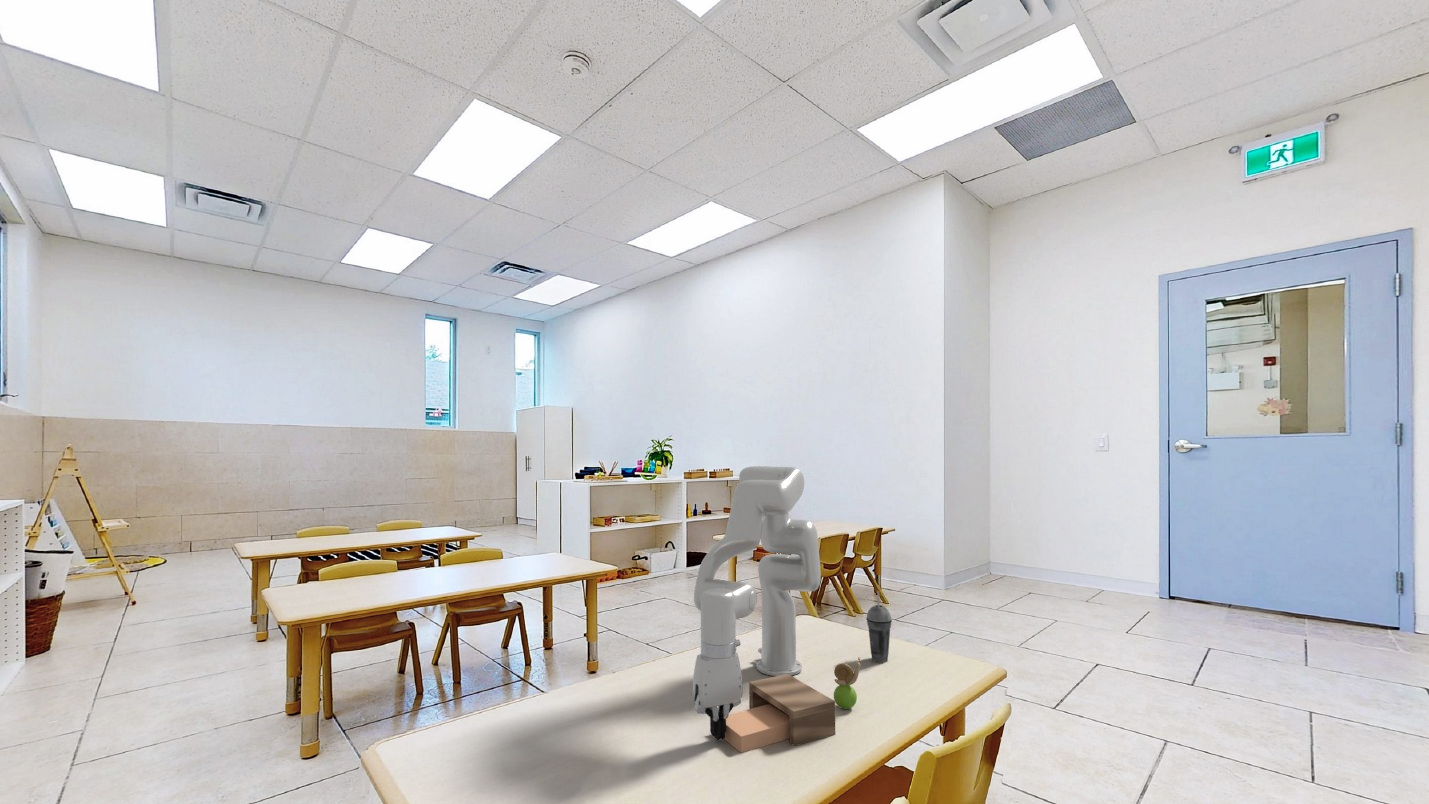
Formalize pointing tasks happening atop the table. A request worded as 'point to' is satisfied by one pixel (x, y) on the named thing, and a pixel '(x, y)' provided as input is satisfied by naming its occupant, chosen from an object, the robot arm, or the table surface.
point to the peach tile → (757, 727)
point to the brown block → (796, 706)
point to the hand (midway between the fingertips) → (718, 736)
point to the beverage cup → (879, 632)
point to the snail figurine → (846, 685)
